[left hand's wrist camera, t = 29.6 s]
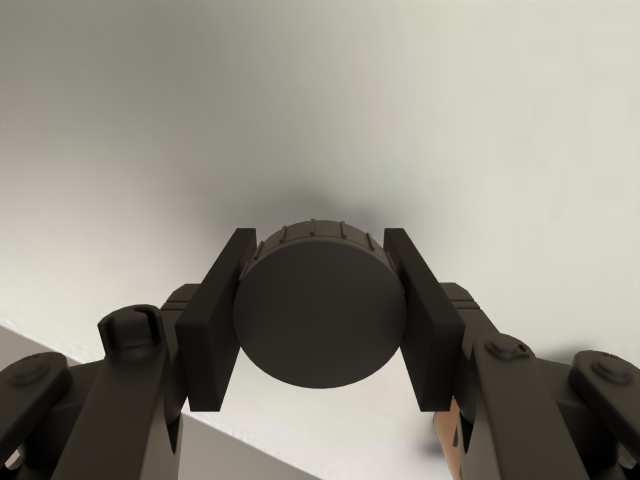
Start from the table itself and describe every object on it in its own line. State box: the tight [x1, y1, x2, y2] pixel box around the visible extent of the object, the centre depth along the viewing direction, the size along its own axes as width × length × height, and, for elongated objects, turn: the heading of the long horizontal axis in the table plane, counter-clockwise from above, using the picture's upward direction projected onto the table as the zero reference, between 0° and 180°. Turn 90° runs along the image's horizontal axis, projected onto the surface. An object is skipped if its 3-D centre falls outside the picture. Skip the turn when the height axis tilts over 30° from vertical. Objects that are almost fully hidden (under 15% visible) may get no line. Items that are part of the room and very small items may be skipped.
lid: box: [232, 219, 408, 389], centre depth 11 cm, size 5×6×2 cm
